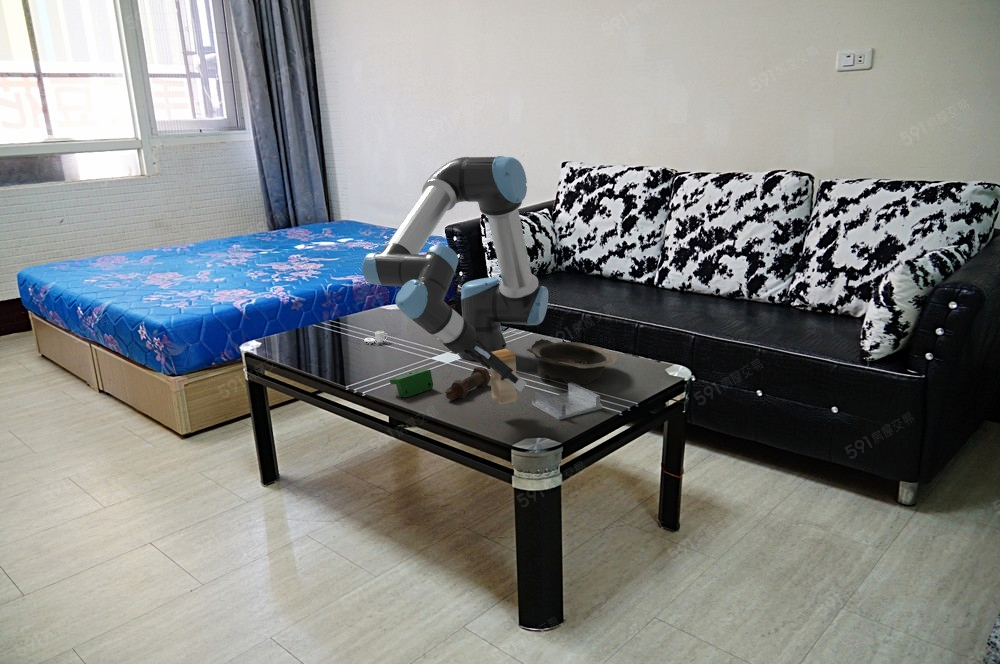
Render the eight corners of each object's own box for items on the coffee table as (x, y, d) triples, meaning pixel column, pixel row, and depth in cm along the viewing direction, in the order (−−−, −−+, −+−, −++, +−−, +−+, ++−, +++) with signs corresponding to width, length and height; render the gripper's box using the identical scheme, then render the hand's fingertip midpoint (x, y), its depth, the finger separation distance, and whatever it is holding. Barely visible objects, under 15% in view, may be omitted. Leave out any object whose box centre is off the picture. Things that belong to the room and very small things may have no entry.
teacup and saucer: (361, 345, 247) (360, 333, 246) (377, 339, 254) (376, 327, 252) (381, 348, 243) (380, 336, 241) (397, 342, 249) (396, 330, 248)
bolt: (447, 408, 195) (481, 388, 207) (460, 402, 192) (493, 382, 204) (437, 388, 195) (471, 369, 207) (450, 381, 192) (484, 363, 204)
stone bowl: (510, 379, 209) (510, 347, 207) (563, 362, 227) (564, 333, 225) (583, 396, 193) (584, 362, 191) (633, 377, 211) (635, 345, 209)
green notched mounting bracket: (419, 401, 207) (422, 370, 208) (431, 401, 203) (434, 370, 204) (385, 395, 200) (389, 364, 201) (397, 395, 195) (401, 364, 197)
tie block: (491, 398, 183) (489, 352, 179) (507, 394, 185) (505, 348, 181) (500, 404, 179) (499, 357, 176) (517, 400, 181) (515, 353, 178)
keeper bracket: (532, 404, 190) (531, 391, 189) (574, 394, 196) (574, 381, 195) (558, 419, 180) (558, 406, 179) (602, 408, 186) (602, 395, 185)
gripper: (426, 335, 177) (490, 385, 190) (460, 354, 162) (527, 407, 175) (445, 309, 178) (508, 361, 191) (481, 326, 163) (546, 381, 176)
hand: (517, 383), depth 183 cm, fingers closed on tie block, 4 cm apart
